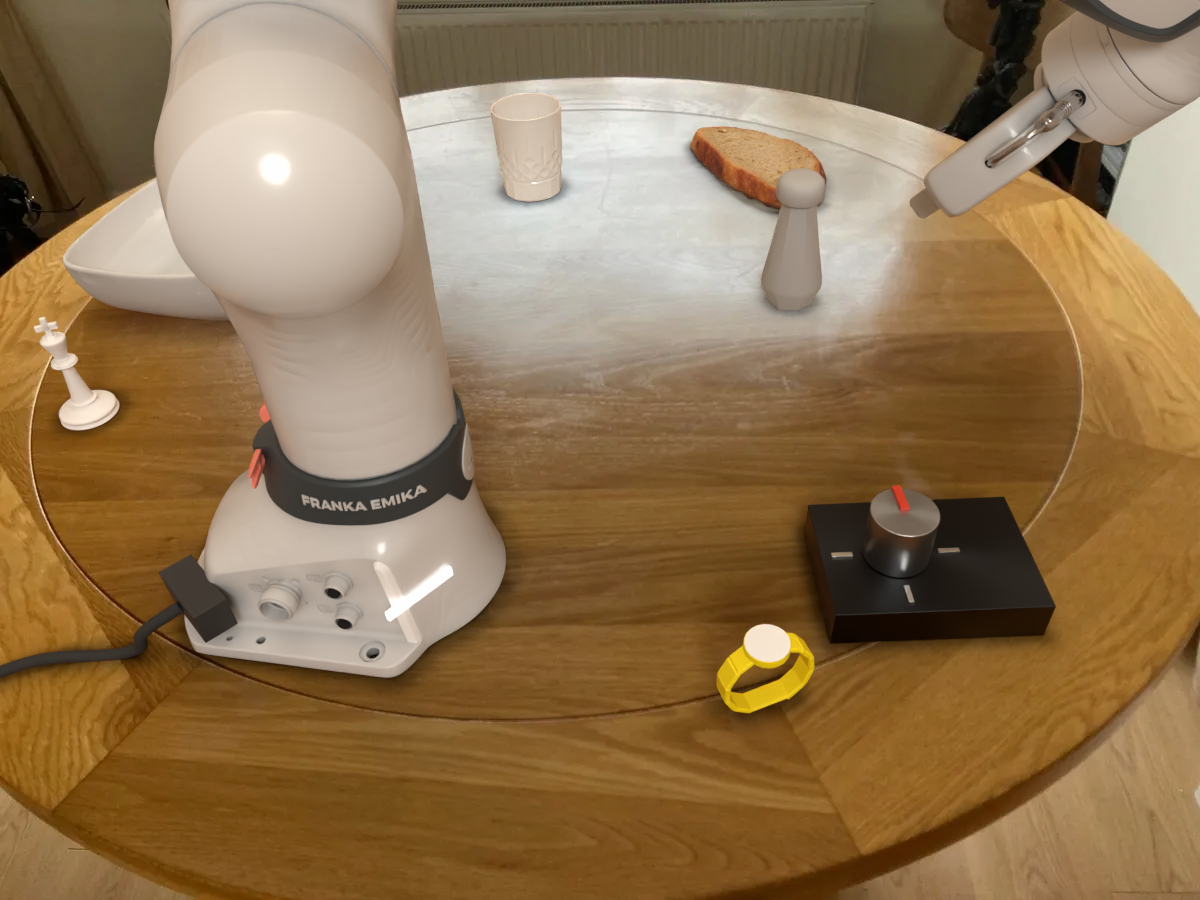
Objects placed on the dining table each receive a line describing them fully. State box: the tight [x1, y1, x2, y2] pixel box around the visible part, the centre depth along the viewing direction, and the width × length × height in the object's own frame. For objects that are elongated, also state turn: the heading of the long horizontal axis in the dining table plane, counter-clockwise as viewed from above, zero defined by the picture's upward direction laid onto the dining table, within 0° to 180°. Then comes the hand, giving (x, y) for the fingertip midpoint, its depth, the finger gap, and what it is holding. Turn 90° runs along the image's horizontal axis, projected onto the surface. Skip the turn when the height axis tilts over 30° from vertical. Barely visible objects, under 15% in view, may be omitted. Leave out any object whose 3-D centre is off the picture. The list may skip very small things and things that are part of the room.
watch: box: [715, 623, 816, 714], centre depth 58 cm, size 6×3×6 cm, turn 109°
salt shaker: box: [760, 168, 826, 312], centre depth 89 cm, size 6×6×13 cm
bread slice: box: [689, 125, 827, 211], centre depth 113 cm, size 18×18×4 cm
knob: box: [862, 484, 940, 578], centre depth 63 cm, size 4×4×4 cm
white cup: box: [489, 92, 563, 203], centre depth 110 cm, size 8×8×10 cm
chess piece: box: [33, 316, 120, 431], centre depth 82 cm, size 5×5×10 cm
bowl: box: [61, 178, 230, 322], centre depth 98 cm, size 20×20×8 cm
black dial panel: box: [803, 496, 1057, 645], centre depth 66 cm, size 14×10×3 cm
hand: (949, 182), depth 73 cm, fingers open, 8 cm apart
